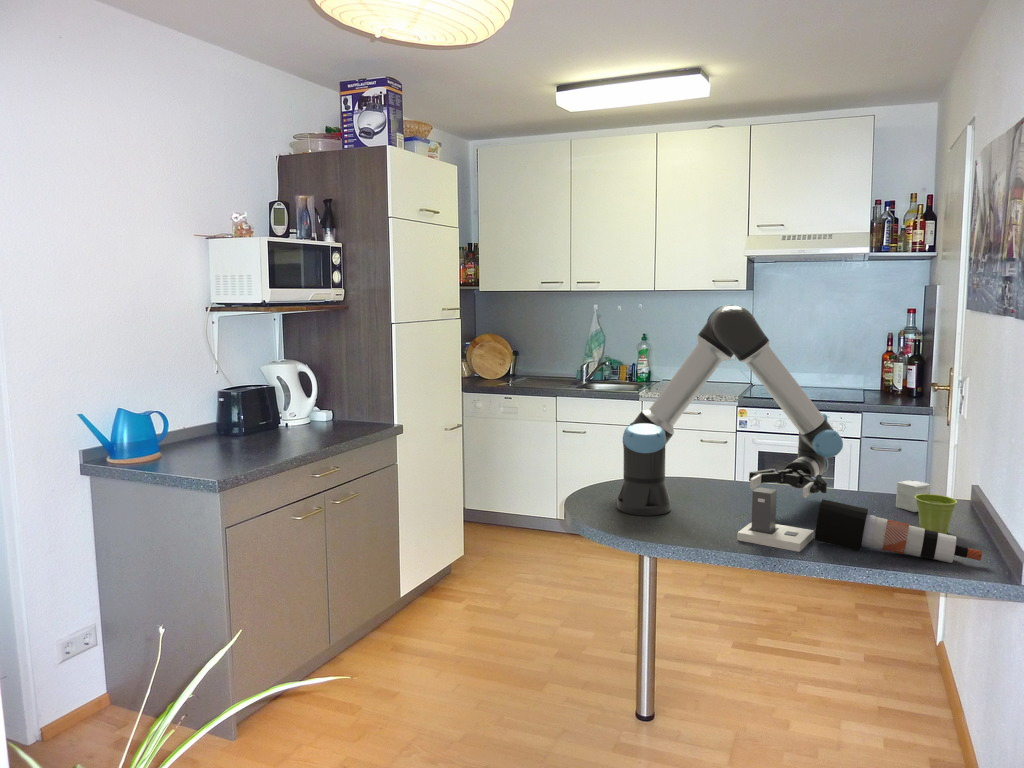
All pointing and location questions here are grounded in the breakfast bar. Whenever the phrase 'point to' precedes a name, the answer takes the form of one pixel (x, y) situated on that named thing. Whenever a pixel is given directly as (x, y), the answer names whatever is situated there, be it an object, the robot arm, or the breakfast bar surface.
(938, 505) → the plant pot
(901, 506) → the skincare box
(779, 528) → the white base plate
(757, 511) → the block
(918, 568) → the breakfast bar surface
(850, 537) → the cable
